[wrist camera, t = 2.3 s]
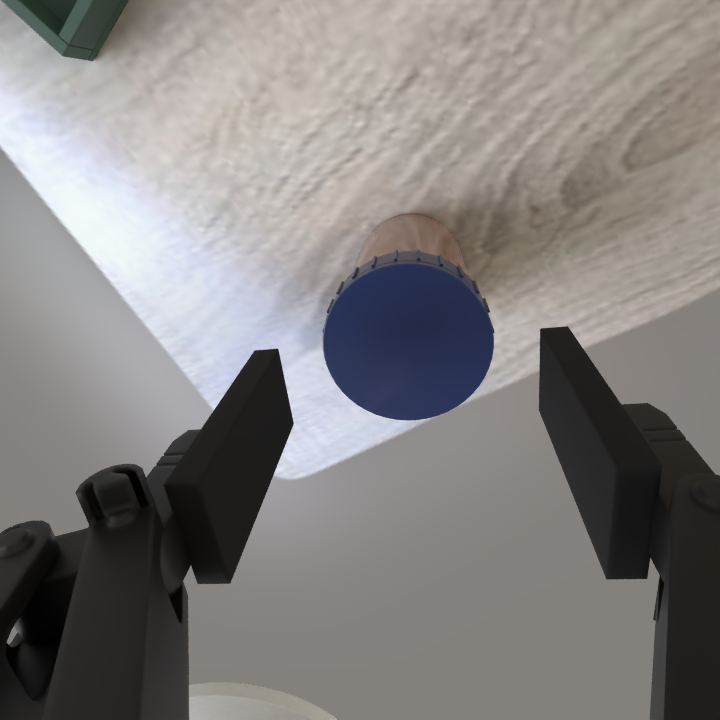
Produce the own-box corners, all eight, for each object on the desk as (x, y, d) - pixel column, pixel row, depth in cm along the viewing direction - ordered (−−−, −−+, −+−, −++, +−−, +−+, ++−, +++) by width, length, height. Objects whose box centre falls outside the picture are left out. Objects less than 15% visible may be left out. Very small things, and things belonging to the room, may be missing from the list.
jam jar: (409, 333, 31) (406, 434, 21) (338, 267, 29) (300, 341, 20) (484, 265, 28) (518, 342, 19) (410, 190, 27) (406, 232, 18)
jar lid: (407, 424, 22) (406, 450, 21) (297, 328, 21) (286, 347, 19) (523, 327, 20) (533, 348, 18) (407, 212, 19) (406, 222, 17)
